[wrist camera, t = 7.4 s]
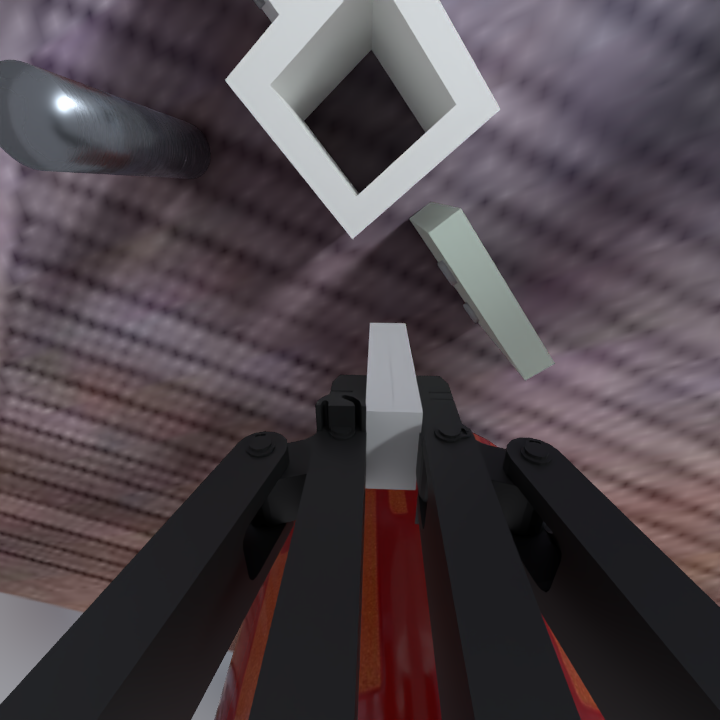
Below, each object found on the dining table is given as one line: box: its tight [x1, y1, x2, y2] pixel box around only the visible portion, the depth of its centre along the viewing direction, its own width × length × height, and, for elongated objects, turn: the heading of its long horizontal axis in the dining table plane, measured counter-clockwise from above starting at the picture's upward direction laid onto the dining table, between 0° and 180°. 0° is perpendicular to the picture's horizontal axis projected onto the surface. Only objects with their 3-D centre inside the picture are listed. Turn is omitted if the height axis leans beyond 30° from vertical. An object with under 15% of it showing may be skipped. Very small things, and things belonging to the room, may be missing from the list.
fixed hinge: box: [225, 0, 500, 239], centre depth 16 cm, size 7×15×8 cm, turn 40°
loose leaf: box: [410, 202, 555, 381], centre depth 20 cm, size 2×9×8 cm, turn 37°
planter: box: [214, 432, 605, 720], centre depth 25 cm, size 23×23×20 cm
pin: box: [0, 60, 210, 179], centre depth 17 cm, size 3×3×11 cm
